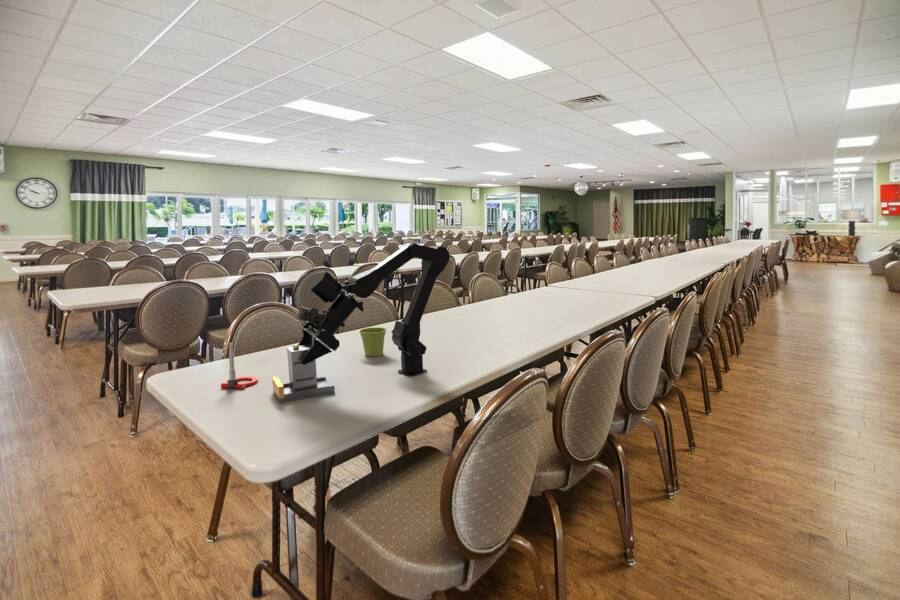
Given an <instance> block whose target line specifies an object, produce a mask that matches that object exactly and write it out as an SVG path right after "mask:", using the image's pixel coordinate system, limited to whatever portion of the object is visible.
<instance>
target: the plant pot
mask: <svg viewBox="0 0 900 600" xmlns="http://www.w3.org/2000/svg"><path fill="white" fill-rule="evenodd" d="M387 331H388V330H387V328H386V327H377V326H376V327H365V328H361V329H359V330H358V332H359V333H360V337H361V339H362V345H363V350H364V355H365V356H366V357H372V356H373V357H378V356H382V355H383V354H384V344H385V337H386V332H387Z"/></svg>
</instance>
